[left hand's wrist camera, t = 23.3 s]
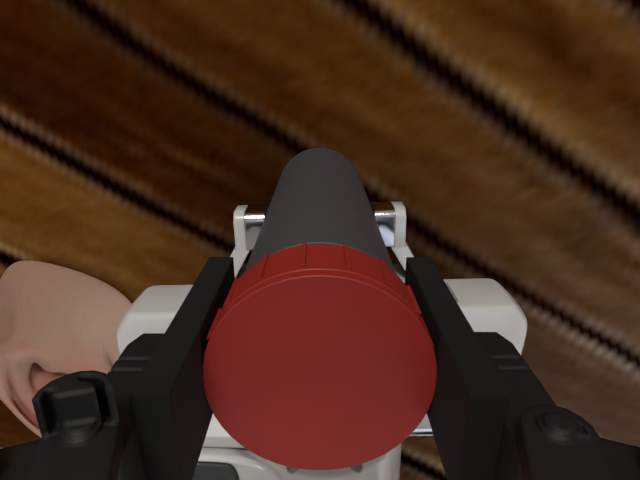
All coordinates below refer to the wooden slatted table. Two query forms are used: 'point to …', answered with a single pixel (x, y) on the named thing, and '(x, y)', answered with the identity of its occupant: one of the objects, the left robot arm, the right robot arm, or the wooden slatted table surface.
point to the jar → (319, 208)
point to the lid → (319, 359)
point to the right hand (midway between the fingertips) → (318, 206)
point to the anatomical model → (53, 330)
